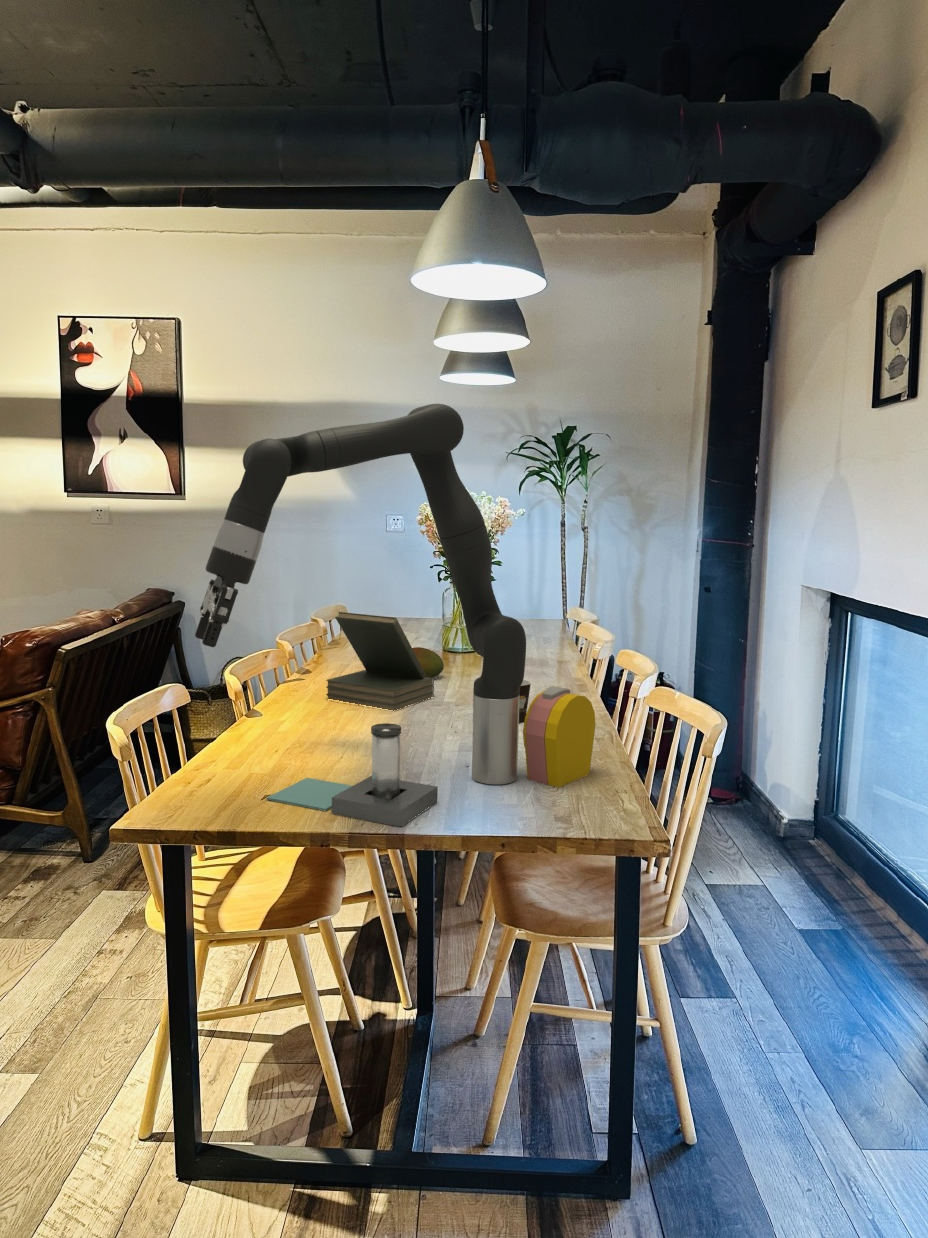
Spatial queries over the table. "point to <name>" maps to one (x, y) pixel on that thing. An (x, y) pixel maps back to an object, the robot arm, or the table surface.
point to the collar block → (384, 802)
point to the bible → (380, 665)
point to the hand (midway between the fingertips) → (204, 642)
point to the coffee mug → (523, 699)
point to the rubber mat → (310, 793)
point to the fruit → (429, 661)
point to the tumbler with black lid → (386, 760)
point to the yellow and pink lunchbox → (558, 737)
